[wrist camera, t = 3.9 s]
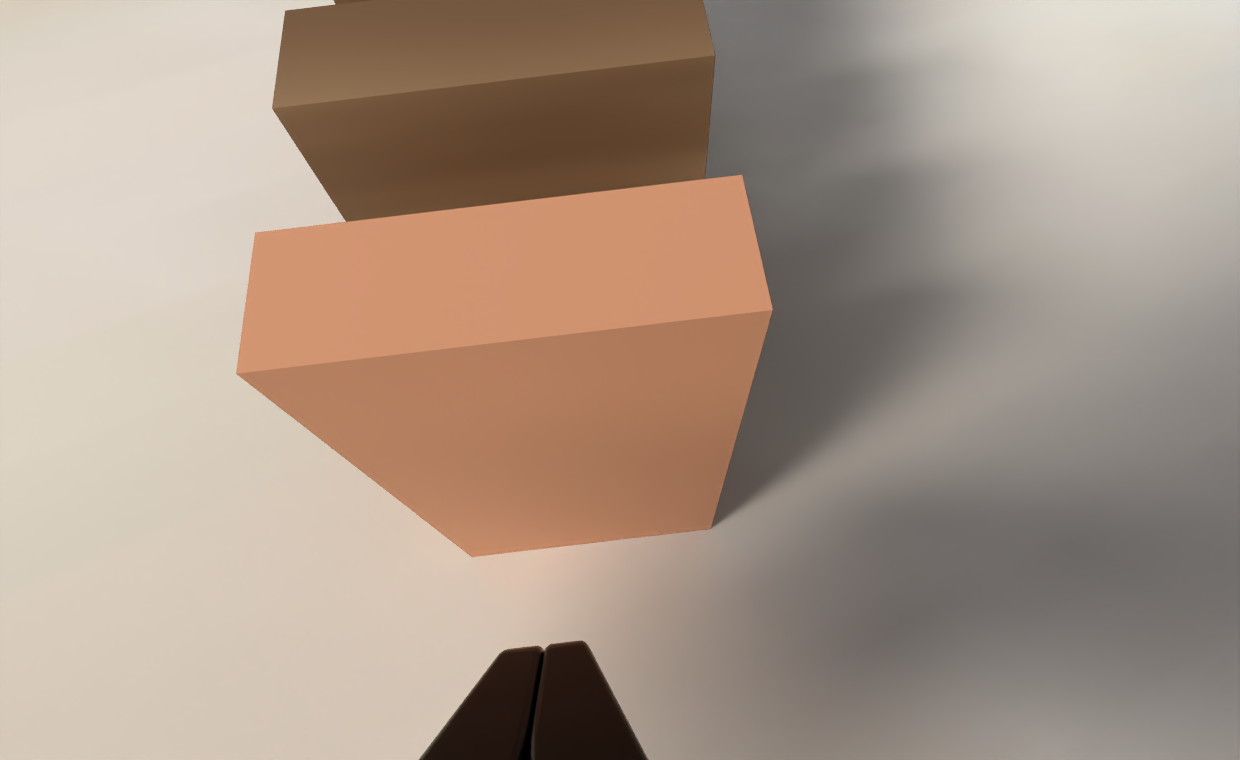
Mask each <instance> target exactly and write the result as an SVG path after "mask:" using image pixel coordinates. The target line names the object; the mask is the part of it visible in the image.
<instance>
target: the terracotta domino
mask: <svg viewBox="0 0 1240 760" xmlns="http://www.w3.org/2000/svg"><path fill="white" fill-rule="evenodd" d="M772 311H773V308H772V304H771V299H770V295H769V291H768V286H767V282H766V277H765V273H764V269H763V264H762V260H761V255H760V251H759V247H758V242H757V238H756V233H755V229H754V225H753V220H752V216H751V211H750V207H749V203H748V198H747V194H746V189H745V185H744V181H743V176H742V175H735V176H726V177H718V178H710V179H701V180H693V181H685V182H676V183H668V184H659V185H651V186H643V187H634V188H626V189H618V190H609V191H601V192H592V193H584V194H576V195H567V196H559V197H551V198H542V199H534V200H525V201H517V202H509V203H500V204H492V205H484V206H475V207H467V208H458V209H450V210H442V211H433V212H425V213H417V214H408V215H400V216H391V217H383V218H375V219H366V220H358V221H349V222H341V223H333V224H324V225H316V226H308V227H299V228H291V229H282V230H274V231H266V232H257V233H255V238H254V245H253V253H252V260H251V268H250V275H249V282H248V290H247V297H246V305H245V312H244V320H243V327H242V334H241V342H240V349H239V357H238V364H237V372H236V374H237V375H239V376H240V377H241V378H242V379H244V380H245V381H246V382H248V383H249V384H250V385H251V386H253V387H254V388H255V389H257V390H258V391H259V392H260V393H262V394H263V395H264V396H266V397H267V398H268V399H269V400H271V401H272V402H273V403H275V404H276V405H277V406H278V407H280V408H281V409H282V410H284V411H285V412H286V413H287V414H289V415H290V416H291V417H293V418H294V419H295V420H296V421H298V422H299V423H300V424H302V425H303V426H304V427H305V428H307V429H308V430H309V431H311V432H312V433H313V434H314V435H316V436H317V437H318V438H320V439H321V440H322V441H323V442H325V443H326V444H327V445H329V446H330V447H331V448H332V449H334V450H335V451H336V452H338V453H339V454H340V455H341V456H343V457H344V458H345V459H347V460H348V461H349V462H350V463H352V464H353V465H354V466H356V467H357V468H358V469H359V470H361V471H362V472H363V473H365V474H366V475H367V476H368V477H370V478H371V479H372V480H374V481H375V482H376V483H377V484H379V485H380V486H381V487H383V488H384V489H385V490H386V491H388V492H389V493H390V494H392V495H393V496H394V497H395V498H397V499H398V500H399V501H401V502H402V503H403V504H404V505H406V506H407V507H408V508H410V509H411V510H412V511H413V512H415V513H416V514H417V515H419V516H420V517H421V518H422V519H424V520H425V521H426V522H428V523H429V524H430V525H431V526H433V527H434V528H435V529H437V530H438V531H439V532H440V533H442V534H443V535H444V536H446V537H447V538H448V539H449V540H451V541H452V542H453V543H455V544H456V545H457V546H458V547H460V548H461V549H462V550H463V551H465V552H466V553H467V554H469V555H470V556H471V557H475V556H483V555H492V554H500V553H509V552H517V551H526V550H534V549H543V548H551V547H560V546H568V545H577V544H585V543H594V542H602V541H611V540H619V539H628V538H636V537H645V536H653V535H662V534H670V533H679V532H687V531H696V530H704V529H711V526H712V522H713V519H714V515H715V512H716V508H717V505H718V501H719V498H720V494H721V491H722V487H723V484H724V480H725V477H726V473H727V469H728V466H729V462H730V459H731V455H732V452H733V448H734V445H735V441H736V438H737V434H738V431H739V427H740V424H741V420H742V417H743V413H744V410H745V406H746V403H747V399H748V396H749V392H750V389H751V385H752V382H753V378H754V375H755V371H756V368H757V364H758V361H759V357H760V354H761V350H762V346H763V343H764V339H765V336H766V332H767V329H768V325H769V322H770V318H771V315H772Z"/></svg>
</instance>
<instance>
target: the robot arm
mask: <svg viewBox="0 0 1240 760" xmlns="http://www.w3.org/2000/svg"><path fill="white" fill-rule="evenodd" d="M419 760H648V759H647V757H646V755H645V753H644V751H643V749H642V747H641V745H640V743H639V741H638V739H637V738H636V736H635V734H634V732H633V730H632V728H631V726H630V724H629V722H628V720H627V719H626V717H625V715H624V713H623V711H622V709H621V707H620V705H619V703H618V701H617V699H616V698H615V696H614V694H613V692H612V690H611V688H610V686H609V684H608V682H607V680H606V678H605V677H604V675H603V673H602V671H601V669H600V667H599V665H598V663H597V661H596V659H595V657H594V656H593V654H592V652H591V650H590V648H589V646H588V645H587V644H586V643H585V642H583V641H573V642H565V643H556V644H550V645H549V646H547V647H546V649H545V651H544V650H543V649H542V648H541V647H540V646H531V647H523V648H514V649H507V650H504V651H503V652H501V653H500V654H499V655H498V656H497V658H496V659H495V660H494V662H493V663H492V664H491V665H490V667H489V668H488V669H487V671H486V672H485V673H484V675H483V676H482V677H481V679H480V680H479V681H478V683H477V684H476V685H475V687H474V688H473V689H472V691H471V692H470V693H469V694H468V696H467V697H466V698H465V700H464V701H463V702H462V704H461V705H460V706H459V708H458V709H457V710H456V712H455V713H454V714H453V716H452V717H451V718H450V719H449V721H448V722H447V723H446V725H445V726H444V727H443V729H442V730H441V731H440V733H439V734H438V735H437V737H436V738H435V739H434V741H433V742H432V743H431V744H430V746H429V747H428V748H427V750H426V751H425V752H424V754H423V755H422V756H421V758H420V759H419Z"/></svg>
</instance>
